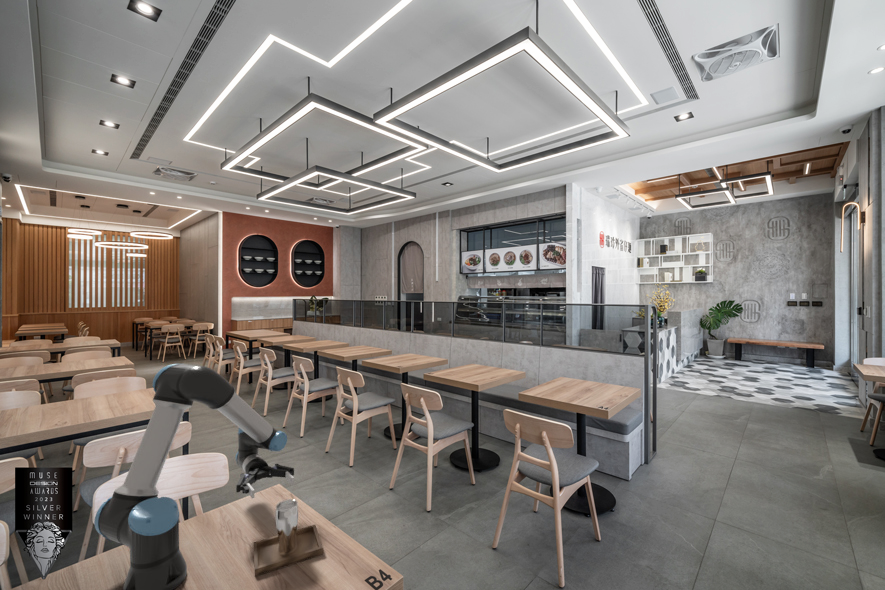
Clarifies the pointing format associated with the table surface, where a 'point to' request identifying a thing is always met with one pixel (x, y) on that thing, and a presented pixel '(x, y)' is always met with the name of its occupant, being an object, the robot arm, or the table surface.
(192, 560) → the table surface
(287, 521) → the silver metal cup
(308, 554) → the walnut tray
